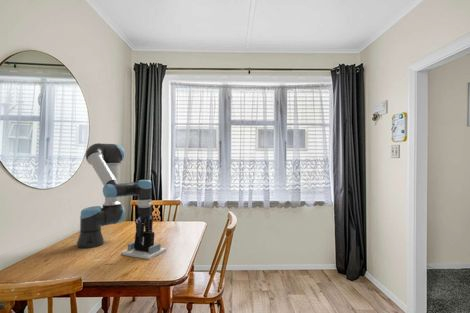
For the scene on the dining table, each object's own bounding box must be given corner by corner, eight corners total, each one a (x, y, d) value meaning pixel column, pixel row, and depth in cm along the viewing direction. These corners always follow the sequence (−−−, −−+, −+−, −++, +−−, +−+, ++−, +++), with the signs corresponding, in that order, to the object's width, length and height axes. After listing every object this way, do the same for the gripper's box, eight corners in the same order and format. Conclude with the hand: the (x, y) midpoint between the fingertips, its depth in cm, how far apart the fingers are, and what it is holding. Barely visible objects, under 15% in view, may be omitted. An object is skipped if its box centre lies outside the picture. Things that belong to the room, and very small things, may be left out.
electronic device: (149, 251, 155) (150, 232, 156) (134, 249, 158) (135, 231, 159) (153, 249, 159) (154, 232, 160) (138, 248, 162) (139, 230, 163)
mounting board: (120, 254, 156) (121, 245, 156) (139, 246, 170) (139, 238, 170) (149, 259, 148) (149, 249, 149) (166, 250, 162) (166, 242, 162)
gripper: (139, 209, 151) (139, 252, 150) (158, 204, 166) (158, 244, 165) (129, 208, 153) (128, 250, 153) (148, 204, 169) (148, 242, 168)
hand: (144, 247), depth 159 cm, fingers closed on electronic device, 3 cm apart
